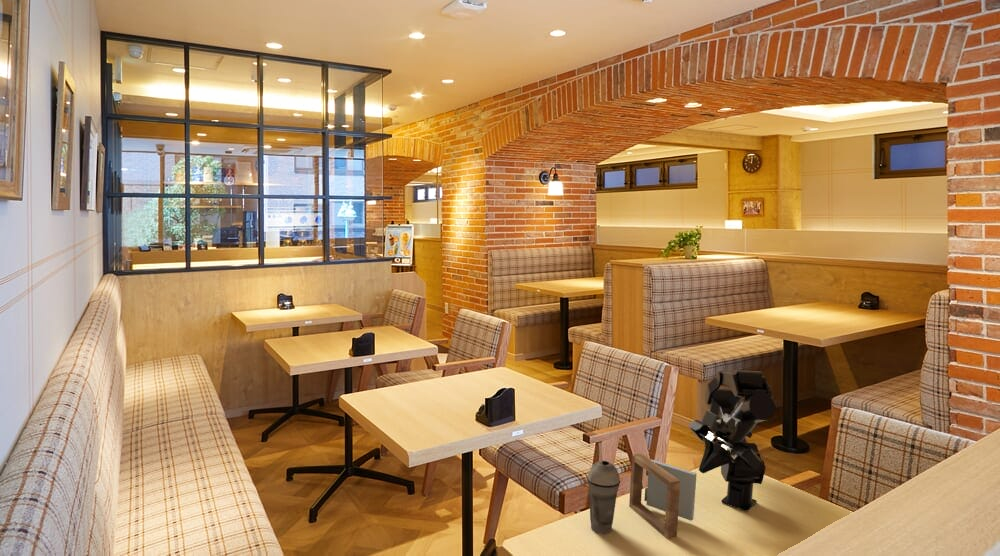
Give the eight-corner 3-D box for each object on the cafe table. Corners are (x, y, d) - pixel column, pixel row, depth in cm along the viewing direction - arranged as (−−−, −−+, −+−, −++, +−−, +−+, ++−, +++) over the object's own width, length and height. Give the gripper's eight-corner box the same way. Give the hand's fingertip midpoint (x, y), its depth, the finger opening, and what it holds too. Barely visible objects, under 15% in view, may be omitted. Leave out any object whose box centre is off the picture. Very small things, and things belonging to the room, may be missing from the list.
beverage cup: (617, 539, 131) (622, 451, 129) (583, 535, 133) (587, 447, 130) (617, 522, 138) (622, 438, 136) (585, 518, 140) (589, 435, 137)
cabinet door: (647, 500, 147) (649, 457, 145) (695, 517, 139) (698, 471, 138) (643, 503, 145) (645, 459, 143) (691, 520, 138) (694, 474, 136)
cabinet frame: (638, 504, 147) (640, 453, 145) (676, 536, 133) (680, 480, 131) (629, 506, 146) (632, 454, 144) (667, 538, 132) (670, 482, 130)
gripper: (697, 387, 149) (657, 436, 146) (754, 413, 132) (710, 469, 129) (720, 414, 153) (681, 462, 150) (779, 443, 136) (736, 498, 133)
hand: (700, 471), depth 141 cm, fingers closed
